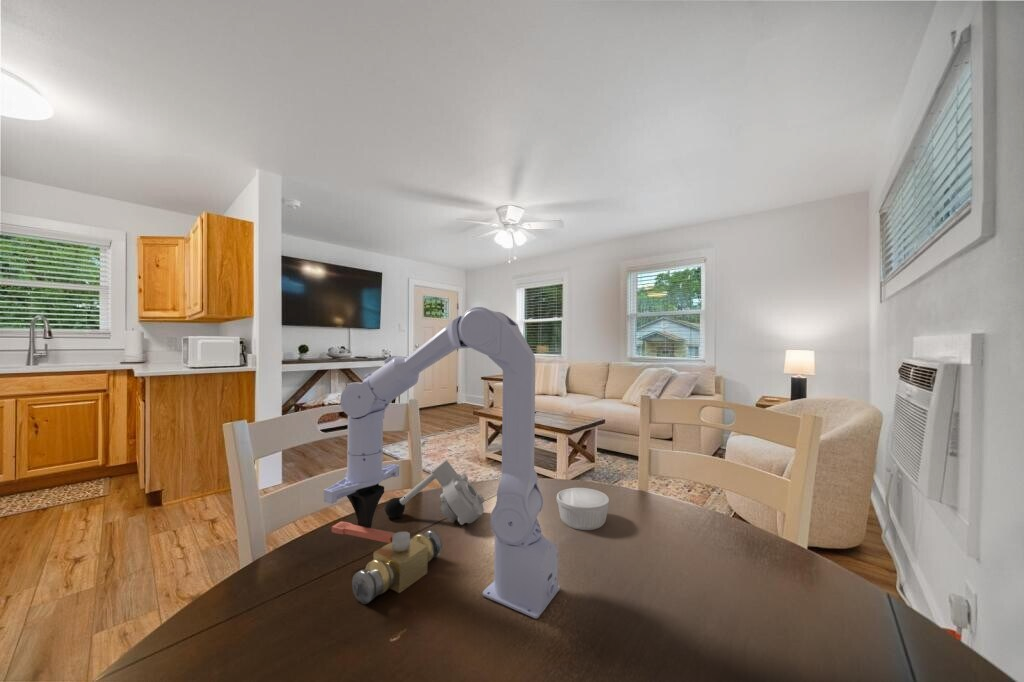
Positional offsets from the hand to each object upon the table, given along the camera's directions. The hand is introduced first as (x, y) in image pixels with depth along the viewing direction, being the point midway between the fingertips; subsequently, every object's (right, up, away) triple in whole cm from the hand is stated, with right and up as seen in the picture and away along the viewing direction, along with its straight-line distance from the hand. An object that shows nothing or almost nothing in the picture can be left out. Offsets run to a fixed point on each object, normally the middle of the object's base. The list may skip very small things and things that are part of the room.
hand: (364, 529), depth 66 cm
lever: (+2, -1, -2) cm, 3 cm away
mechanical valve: (+9, -6, +17) cm, 20 cm away
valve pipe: (+7, -6, -4) cm, 10 cm away
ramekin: (+41, -7, +17) cm, 45 cm away
